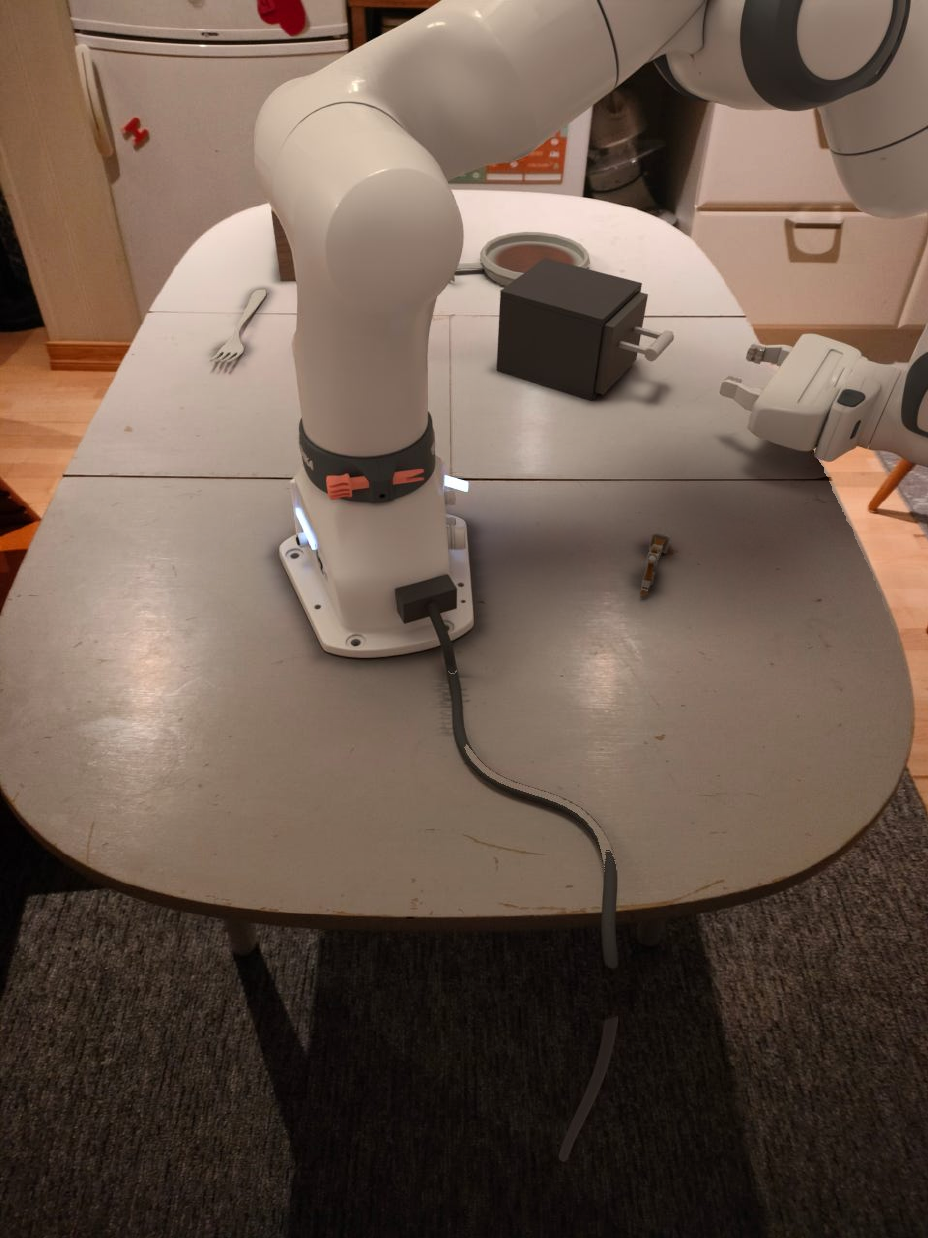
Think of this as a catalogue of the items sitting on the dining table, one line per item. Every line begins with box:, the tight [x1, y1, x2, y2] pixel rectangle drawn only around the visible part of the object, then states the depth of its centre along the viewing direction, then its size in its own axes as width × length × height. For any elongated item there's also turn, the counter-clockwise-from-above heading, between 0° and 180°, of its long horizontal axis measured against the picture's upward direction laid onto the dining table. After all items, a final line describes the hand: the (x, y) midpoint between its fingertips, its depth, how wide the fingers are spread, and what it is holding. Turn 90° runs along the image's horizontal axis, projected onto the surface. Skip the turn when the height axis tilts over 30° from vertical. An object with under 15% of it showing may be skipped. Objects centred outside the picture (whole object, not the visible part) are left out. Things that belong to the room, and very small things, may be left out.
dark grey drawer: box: [595, 291, 675, 395], centre depth 105 cm, size 18×10×9 cm, turn 59°
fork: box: [208, 289, 267, 364], centre depth 115 cm, size 3×24×2 cm, turn 177°
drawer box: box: [496, 258, 643, 401], centre depth 107 cm, size 14×12×11 cm
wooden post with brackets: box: [639, 531, 671, 596], centre depth 81 cm, size 2×8×4 cm, turn 160°
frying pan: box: [450, 231, 591, 287], centre depth 130 cm, size 17×3×28 cm
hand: (736, 367), depth 98 cm, fingers open, 8 cm apart
